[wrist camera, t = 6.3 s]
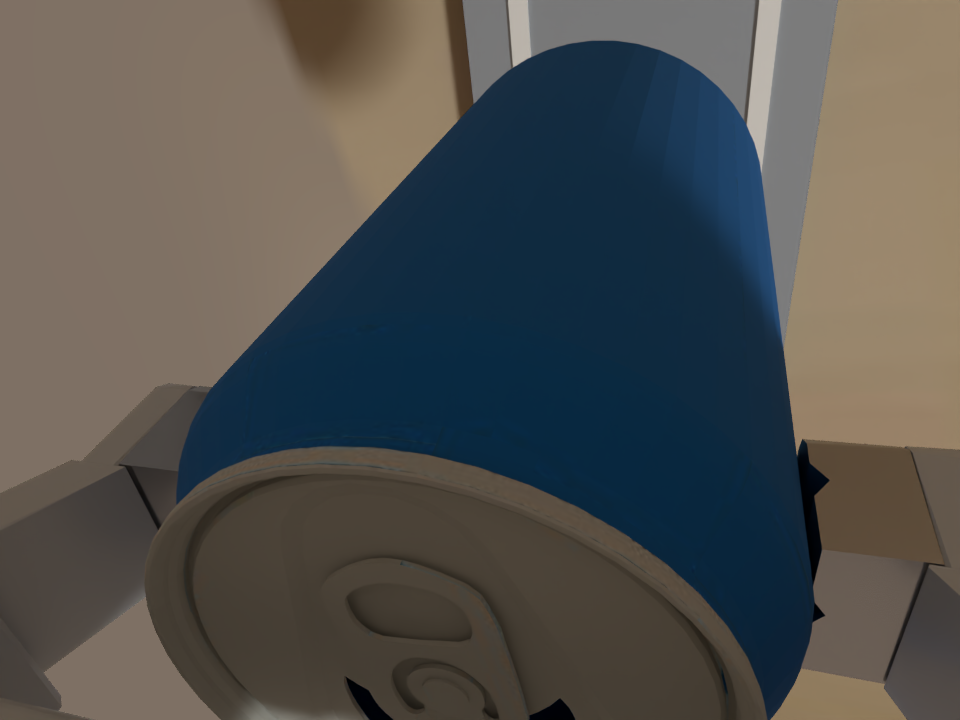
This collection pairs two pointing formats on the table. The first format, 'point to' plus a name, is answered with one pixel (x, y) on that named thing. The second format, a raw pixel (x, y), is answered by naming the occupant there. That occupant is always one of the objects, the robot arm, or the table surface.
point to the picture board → (713, 51)
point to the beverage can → (512, 435)
